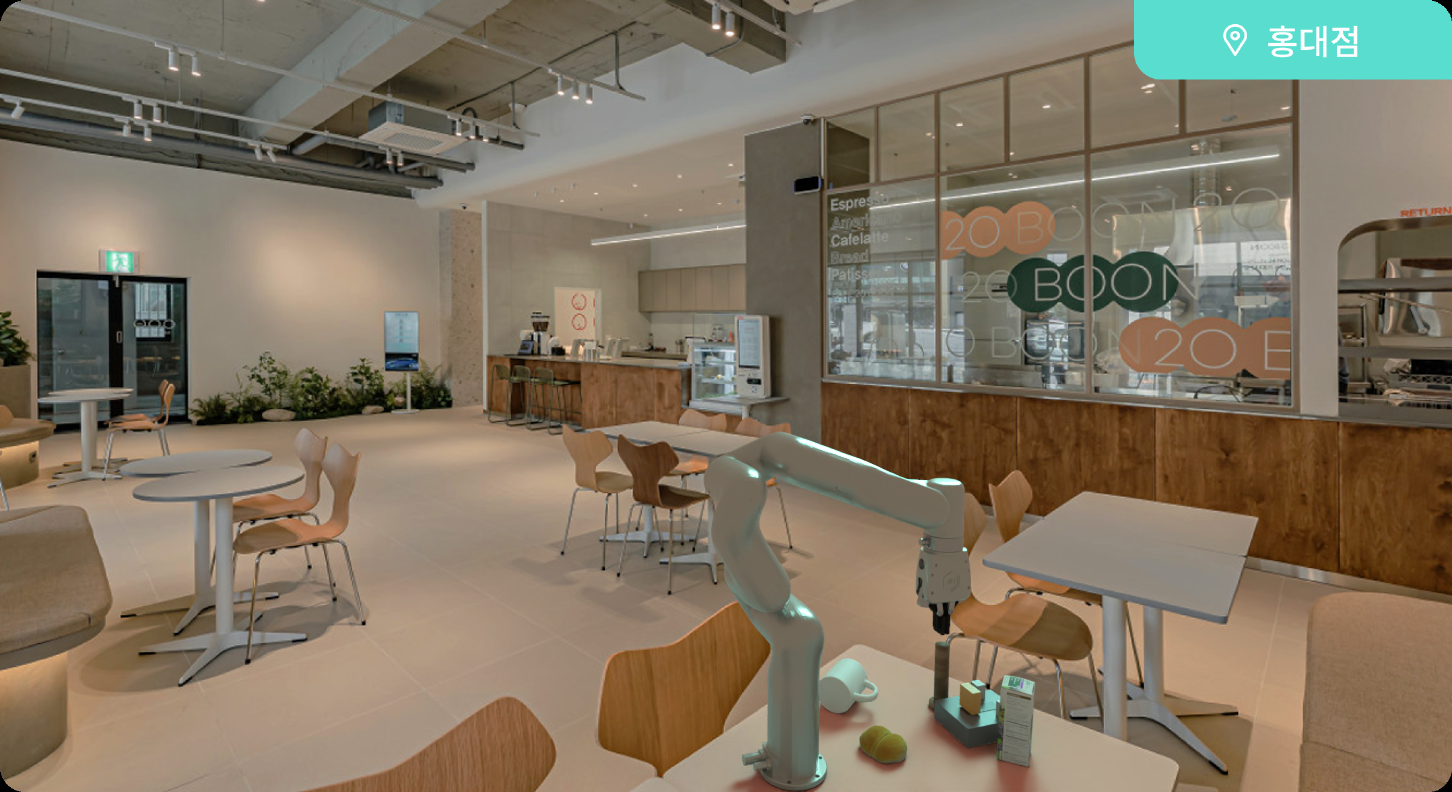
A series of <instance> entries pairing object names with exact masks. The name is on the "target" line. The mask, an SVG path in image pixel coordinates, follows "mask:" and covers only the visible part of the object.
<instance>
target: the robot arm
mask: <svg viewBox="0 0 1452 792" xmlns="http://www.w3.org/2000/svg"><path fill="white" fill-rule="evenodd" d="M774 478H777V479H779V480H781V481H783V482H785V483H787V484H790V485H793V486H796V487H798V488H802V489H803V490H805V491H810V492H813V493H816V494H819V495H822V496H825V497H828V498H829V499H833V500H837V501H839V502H843V503H844V504H848V505H850V506H852V507H856V508H859V509H863V510H866V511H870V512H873V513H877V514H879V515H882V516H886V517H888V518H891V519H894V520H897V521H899V522H903V523H906V524H908V525H910V526H915V527H916V528H921V529H923V534H922V538H919V539H918V545H919V546H921V548H920V550H919V553H918V557H917V558H918V559H917V564H916V565H917V566H916V573H915V594H916V595H917V599H916V605H917V606H919V607H921V608H926V609H929V610H930V611H931V612H932V629H933V631H935V632H936V633H937V634H939V635H940V636H945V635H950V629H951V615H953V614H954V611H955V609H956V607H957V606H958V605H959V604H961V603H963V602H966V601H967V599H968V598H970V597H971V593H972V577H971V576H972V575H971V574H972V573H971V572H972V571H971V564H970V558H969V553H968V549H967V548H966V547H964V540H965V539H964V537H965V536H964V533H965V532H964V531H965V501H966V499H965V494H966V493H965V492H966V491H965V486H964V483H963V482H961V481H959V480H958V479H954V478H947V477H937V478H936V477H935V478H931V479H929V480H928V479H927V480H924V479H920V480H919V479H911V478H910V479H908V478H905V477H902V476H899V475H897V474H895V473H893V472H890V471H888V470H886V469H883V468H881V467H879V466H877V465H875V464H872V463H871V462H868V461H866V460H863V459H861V458H858V457H856V456H852V455H850V454H847V453H844V452H841V451H839V450H836V449H833V448H832V447H828V446H825V445H823V444H821V443H817V442H814V441H813V440H809V439H807V438H804V437H800V436H797V435H794V434H792V433H790V432H789V433H788V432H784V431H775V432H772V433H769V434H766V435H764V436H761V437H759V438H757V439H755V440H753V441H750V442H749V443H746V444H744V445H742V446H739V447H737V448H735V449H733V450H731V451H728V452H726V453H723V454H722V455H720V456H718V457H717V458H715V459H714V460H712V461H711V463H710V464H709V465H708V466H707V468H706V469H705V472H704V474H703V485H704V490H705V491H706V493H707V495H708V496H709V497H710V498H711V499H713V500H714V501H715V502H717V504H716V507H715V510H714V513H713V517H712V522H711V527H710V529H711V530H710V535H711V541H712V544H713V547H714V549H715V551H716V553H717V554H718V556H719V559H720V560H721V561H722V563H723V576H724V580H725V582H726V584H727V587H728V588H729V590H730V591H731V593H732V595H733V596H734V598H735V599H736V601H737V602H738V604H739V605H740V607H741V608H742V610H743V612H744V613H745V615H746V616H747V618H748V619H749V621H750V622H751V624H752V625H753V626H754V628H755V629H756V630H757V631H758V632H759V633H760V634H761V636H763V638H764V639H765V640H766V641H767V642H768V643H769V644H770V647H771V658H770V662H769V665H768V669H767V679H766V681H767V683H766V684H767V687H766V688H767V713H766V714H767V715H766V716H767V725H766V729H767V731H766V732H767V738H766V739H767V740H766V741H764V742H762V743H761V746H762V747H761V748H759V749H757V751H755V752H749V753H743V754H741V761H742V764H743V767H747V766H752V768H753V771H754V772H759V773H760V775H761V777H762V778H763V779H764V781H766V782H767V783H769V784H771V786H774V787H776V788H778V789H782V790H787V791H797V792H798V791H805V790H809V789H813V788H815V787H817V786H819V785H820V784H821V783H822V782H823V781H824V780H825V779H826V777H827V775H828V774H827V773H828V764H827V761H826V759H825V757H824V756H823V755H822V754H821V753H820V700H819V681H820V676H821V675H820V673H821V661H822V656H823V653H824V648H825V640H826V639H825V638H826V637H825V635H826V634H825V629H824V626H823V624H822V622H821V620H820V619H819V617H818V615H816V613H815V612H814V611H813V610H812V609H811V608H810V607H808V606H807V605H806V604H805V603H804V602H802V601H801V600H799V598H798V597H796V596H795V595H794V594H793V593H792V584H791V581H790V577H789V575H788V572H787V571H786V569H785V567H783V565H782V564H781V562H780V561H779V559H778V558H777V556H776V555H775V553H774V551H773V550H772V548H771V547H770V545H769V544H768V542H767V539H766V538H765V536H764V535H763V532H762V529H761V528H760V520H761V516H762V513H763V510H764V507H765V505H766V503H767V500H768V489H769V488H768V484H767V482H768V481H771V480H772V479H774Z"/></svg>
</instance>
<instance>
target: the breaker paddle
mask: <svg viewBox="0 0 1452 792" xmlns="http://www.w3.org/2000/svg"><path fill="white" fill-rule="evenodd" d="M959 696H960V706H962V707H963V708H964V709H965V710H967V711H968V712H969V713H970V714H971V715H974V714H979V713H980V709H981V692H980V691H979V690H978V689H976V688H975V687H974V686H972V685H971V682H963V683H959Z"/></svg>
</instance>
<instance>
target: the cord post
mask: <svg viewBox="0 0 1452 792" xmlns="http://www.w3.org/2000/svg"><path fill="white" fill-rule="evenodd" d="M950 649H951V646H950V643H948V642H946V641H936V642H935V644H934V671H933V672H934V674H933V675H934V678H933V696H931V697H929V699H928V707H929V708H930V709H931V710H932V711H933V712H935V700H939V699H944V698H949V688H950V687H949V685H950V655H951V654H950V653H951V652H950Z"/></svg>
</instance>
